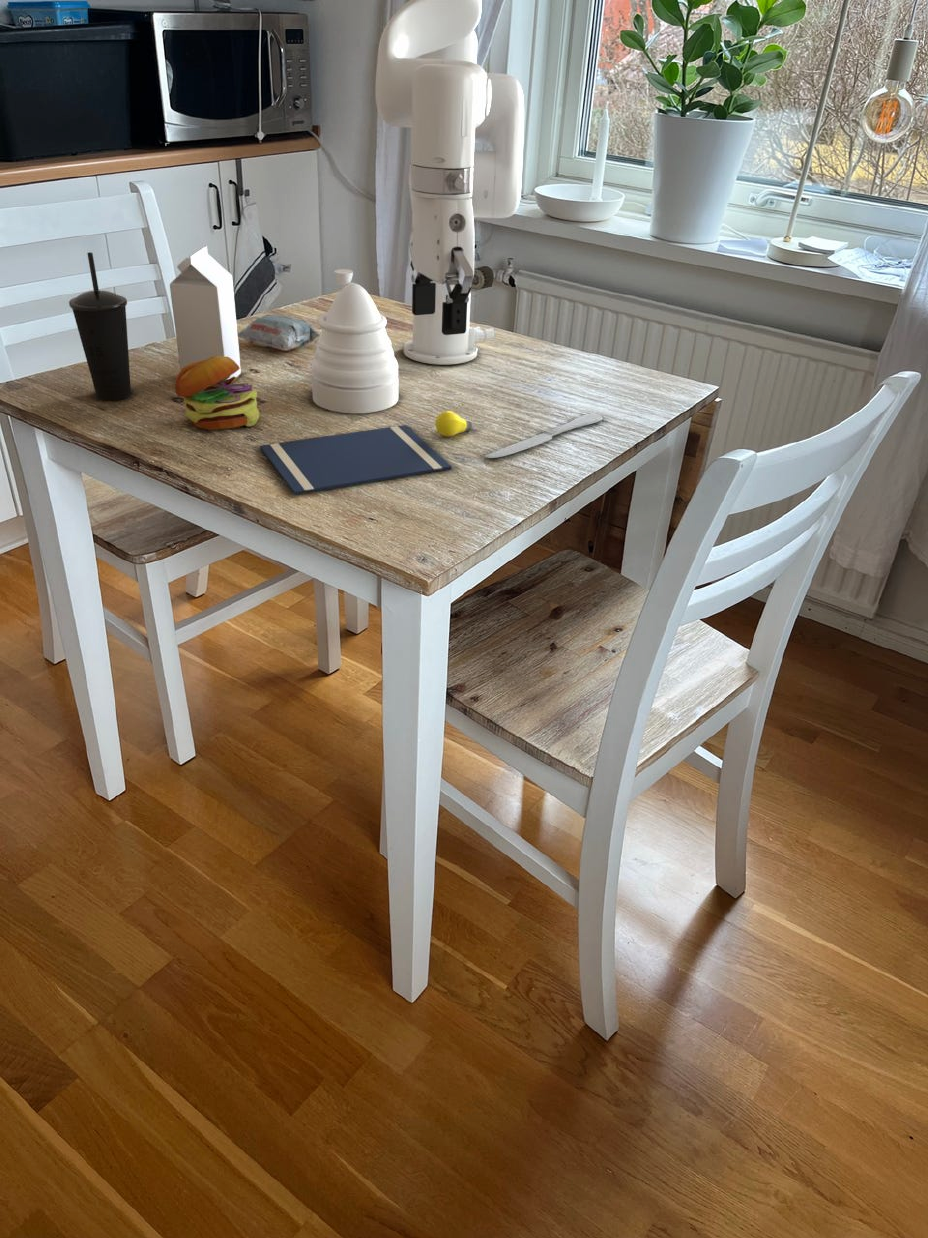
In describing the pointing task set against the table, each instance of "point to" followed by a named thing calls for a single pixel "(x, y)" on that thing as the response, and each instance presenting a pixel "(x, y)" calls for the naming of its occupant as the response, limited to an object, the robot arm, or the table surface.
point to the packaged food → (279, 332)
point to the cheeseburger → (216, 395)
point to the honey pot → (353, 354)
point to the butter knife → (546, 435)
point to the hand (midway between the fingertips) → (438, 323)
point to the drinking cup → (104, 339)
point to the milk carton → (204, 311)
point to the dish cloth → (352, 459)
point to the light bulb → (451, 424)
